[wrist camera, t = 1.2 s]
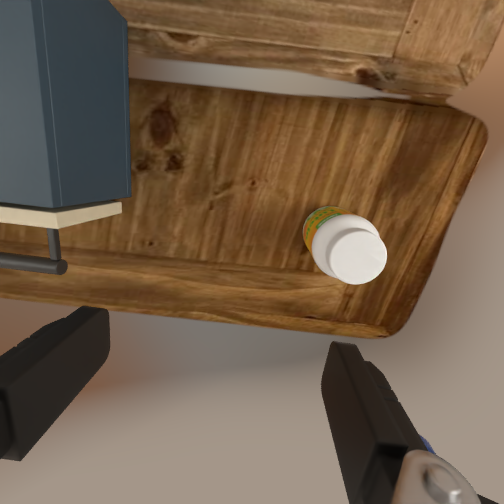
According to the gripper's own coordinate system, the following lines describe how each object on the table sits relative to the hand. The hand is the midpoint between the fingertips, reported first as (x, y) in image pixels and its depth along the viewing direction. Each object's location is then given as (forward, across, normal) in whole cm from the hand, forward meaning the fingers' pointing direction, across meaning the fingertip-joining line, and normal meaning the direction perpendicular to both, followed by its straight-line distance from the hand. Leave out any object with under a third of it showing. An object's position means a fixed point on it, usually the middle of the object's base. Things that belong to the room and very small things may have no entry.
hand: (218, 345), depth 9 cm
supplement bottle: (+20, +8, +1) cm, 21 cm away
